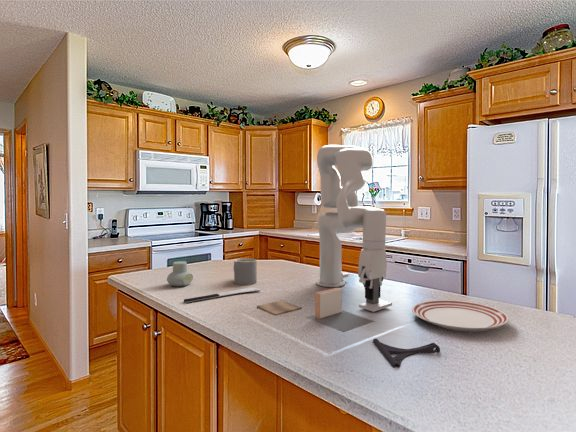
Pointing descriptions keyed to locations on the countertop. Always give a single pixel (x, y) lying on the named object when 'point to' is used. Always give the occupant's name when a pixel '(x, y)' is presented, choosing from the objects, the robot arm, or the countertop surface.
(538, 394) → the countertop surface
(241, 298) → the countertop surface
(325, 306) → the block
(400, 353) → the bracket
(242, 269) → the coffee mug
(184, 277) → the air freshener
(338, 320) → the mat
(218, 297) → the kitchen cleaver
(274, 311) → the board
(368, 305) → the white base with post
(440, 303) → the dinner plate
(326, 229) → the robot arm
